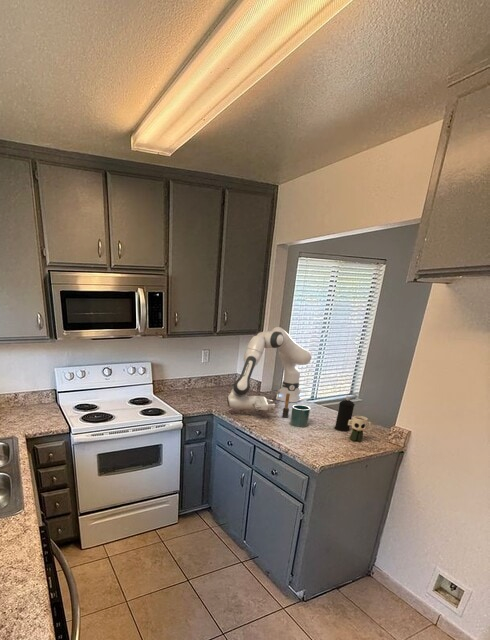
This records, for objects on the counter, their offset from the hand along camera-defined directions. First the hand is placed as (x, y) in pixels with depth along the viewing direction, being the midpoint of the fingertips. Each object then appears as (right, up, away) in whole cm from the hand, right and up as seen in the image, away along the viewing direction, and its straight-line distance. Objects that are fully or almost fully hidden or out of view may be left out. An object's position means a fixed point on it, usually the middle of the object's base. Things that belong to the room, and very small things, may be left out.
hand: (273, 403), depth 232 cm
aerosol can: (+35, -17, -18) cm, 43 cm away
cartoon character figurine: (+35, -23, -34) cm, 54 cm away
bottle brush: (+8, -9, +2) cm, 12 cm away
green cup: (+12, -14, -10) cm, 21 cm away
